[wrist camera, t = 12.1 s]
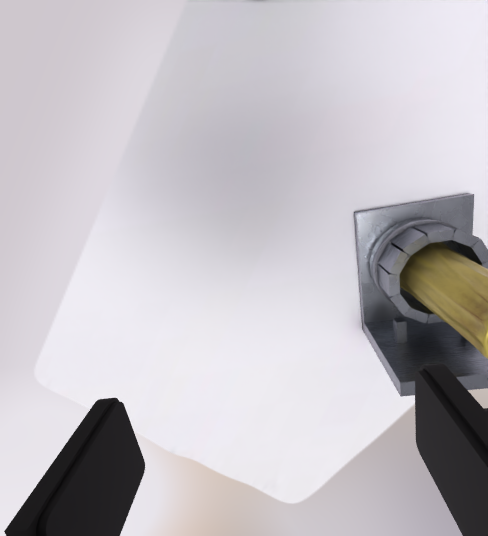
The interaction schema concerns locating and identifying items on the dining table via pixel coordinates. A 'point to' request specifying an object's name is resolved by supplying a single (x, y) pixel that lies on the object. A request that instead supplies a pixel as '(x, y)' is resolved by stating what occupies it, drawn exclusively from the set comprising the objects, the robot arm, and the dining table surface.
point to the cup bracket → (406, 305)
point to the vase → (450, 290)
